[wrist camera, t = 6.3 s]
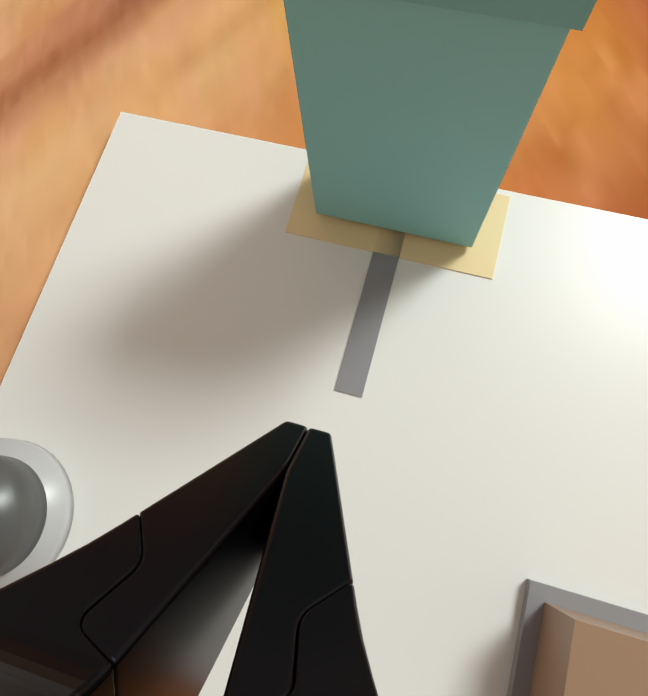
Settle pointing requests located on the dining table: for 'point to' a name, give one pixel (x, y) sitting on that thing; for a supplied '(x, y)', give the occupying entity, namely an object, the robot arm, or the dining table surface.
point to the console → (356, 403)
